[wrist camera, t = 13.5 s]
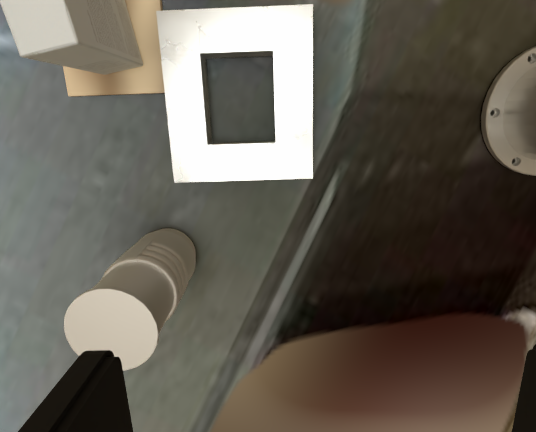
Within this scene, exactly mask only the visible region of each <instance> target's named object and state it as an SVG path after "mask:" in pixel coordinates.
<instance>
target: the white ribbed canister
mask: <svg viewBox="0 0 536 432" xmlns="http://www.w3.org/2000/svg"><path fill="white" fill-rule="evenodd" d="M195 258H196V251H195V247H194V245H193V242H192V241H191V240H190V238H189V237H188V236H186V235H185V234H184V233H183V232H180V231H178V230H175V229H170V228H167V229H160V230H157V231H154V232H151V233H148V234H146V235H145V236H143V237H142V238H141V239H140V240H139V241H138V242H137V243H136V244H135V245H133V246H132V247H131V248H129V249H128V250H127V251H126V252H125V253H124V254H122V255H121V257H120V258H118V259H117V260H116V261H115V262H114V263H113V264H112V265H111V266H110V267H109V268H108V269H107V270H106V271H105V273H104V275H103V277H102V279H101V280H100V281H99V282H98V283H97V284H96V285H95V286H94V287H93V288H92V289H90V290H87V291H86V292H84V293H83V294H81V295H80V296H78V297H77V298H76V299H75V300H74V301H73V303H72V304H71V305H70V306H69V307H68V310H67V312H66V315H65V319H64V330H65V334H66V338H67V340H68V342H69V344H70V346H71V347H72V349H73V350H74V351H75V352H76V353H77V354H78V355H79V356H80V355H81V354H82V353H83V352H84V351H95V350H110V351H112V352H113V354H114V357H119V358H120V359H121V363H122V369H123V370H128V369H131V368H135V367H137V366H139V365H140V364H142V363H144V362H145V361H146V360H147V359H148V358H149V357H150V356H151V355H152V354H153V352H154V350H155V347H156V345H157V343H158V340H159V333H160V331H161V329H162V327H163V325H164V323H165V321H167V320H168V319H169V318H170V317H171V316H172V315H173V314H174V312H175V310H176V308H177V306H178V304H179V302H180V300H181V298H182V296H183V294H184V292H185V290H186V288H187V286H188V281H189V280H190V278H191V277H192V275H193V273H194V271H195V265H196V260H195Z"/></svg>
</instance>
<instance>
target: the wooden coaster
mask: <svg viewBox="0 0 536 432" xmlns="http://www.w3.org/2000/svg"><path fill="white" fill-rule="evenodd" d="M125 2H126V6H127V10H128V13H129V17H130V20H131V23H132V27H133V30H134V34H135V37H136V41H137V44H138V48H139V51H140V55H141V58H142V61H143V66H141V67H136V68H132V69H128V70H123V71H119V72H114V73H110V74H106V75H103V74H98V73H94V72H89V71H84V70H80V69H75V68H70V67H66V66H63V69H64V74H65V80H66V86H67V91H68V96H98V95H126V94H153V93H165V90H164V81H163V71H162V62H161V52H160V43H159V34H158V24H157V15H156V11H163V10H162V0H125Z"/></svg>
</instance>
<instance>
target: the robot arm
mask: <svg viewBox="0 0 536 432" xmlns="http://www.w3.org/2000/svg"><path fill="white" fill-rule="evenodd" d="M491 111H492V114H490V113H491ZM481 130H482V134H483V139H484V142H485V144H486V146H487V148H488V150H489V152H490V153H491V154H492V156H493V157H494V158H495V159H496V160H497V161H498V162H499V163H500V164H501V165H503V166H504V167H506V168H508V169H510V170H512V171H515V172H518V173H522V174H527V175H533V176H536V46H535V47H532V48H530V49H528V50H526V51H524V52H523V53H521V54H520V55H518V56H517V57H515V58H514V59H512V60H511V61H510V62H509V63H508V64H507V65H506V66H505V67H504V68H503V69H502V70H501V72H500V73H499V74H498V75H497V77H496V78H495V79H494V81H493V83H492V85H491V86H490V88H489V90H488V92H487V95H486V98H485V100H484V103H483V108H482V114H481ZM512 160H513V161H512ZM18 432H133V428H132V422H131V416H130V410H129V405H128V399H127V393H126V387H125V381H124V375H123V369H122V363H121V359H120V358H119V357H114V354H113V352H112V351H110V350H95V351H84V352H83V353H82V354H81V355H80V356H79V357H78V358H77V360H76V361H75V362H74V363H73V365H72V366H71V367H70V368H69V369H68V371H67V372H66V373H65V374H64V376H63V377H62V378H61V379H60V381H59V382H58V383H57V384H56V386H55V387H54V388H53V389H52V390H51V392H50V393H49V394H48V395H47V397H46V398H45V399H44V400H43V402H42V403H41V404H40V405H39V406H38V408H37V409H36V410H35V411H34V413H33V414H32V415H31V416H30V418H29V419H28V420H27V421H26V423H25V424H24V425H23V426H22V427H21V429H20V430H19V431H18ZM512 432H536V344H535V345H534V347H533V349H532V350H529V351H528V353H527V356H526V361H525V367H524V372H523V377H522V382H521V387H520V392H519V398H518V403H517V408H516V413H515V418H514V424H513V429H512Z"/></svg>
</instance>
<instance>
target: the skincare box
mask: <svg viewBox="0 0 536 432" xmlns="http://www.w3.org/2000/svg"><path fill="white" fill-rule="evenodd" d="M0 4H1V6H2V9H3V12H4V14H5V17H6V19H7V22H8V24H9V27H10V30H11V32H12V35H13V37H14V40H15V43H16V45H17V48H18V51H19V54H20V56H21V57H24V58H28V59H33V60H38V61H42V62H47V63H52V64H57V65H61V66H66V67H70V68H75V69H80V70H84V71H89V72H94V73H98V74H103V75H106V74H110V73H114V72H119V71H123V70H128V69H132V68H136V67H141V66H143V61H142V58H141V55H140V51H139V48H138V44H137V41H136V37H135V34H134V30H133V27H132V23H131V20H130V17H129V13H128V10H127V6H126V2H125V0H0Z"/></svg>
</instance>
